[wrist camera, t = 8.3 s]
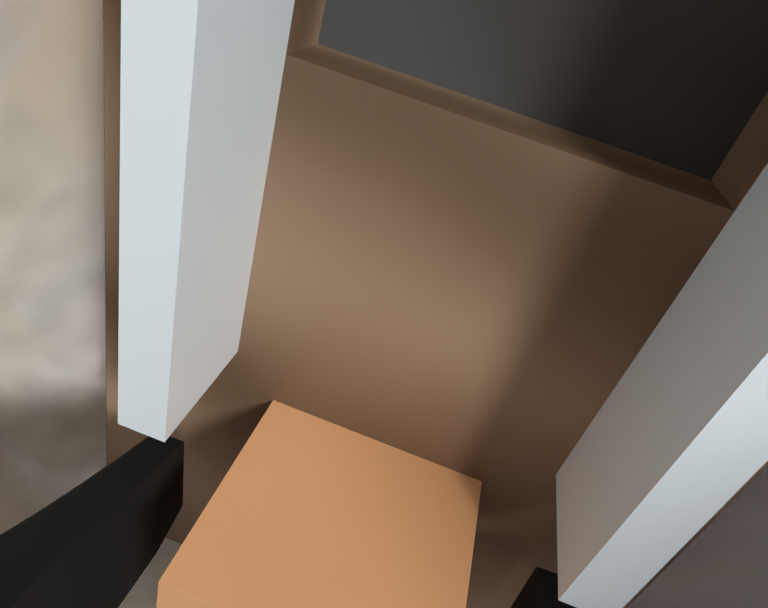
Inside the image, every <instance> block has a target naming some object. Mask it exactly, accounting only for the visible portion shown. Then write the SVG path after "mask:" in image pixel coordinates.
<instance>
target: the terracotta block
mask: <svg viewBox="0 0 768 608" xmlns="http://www.w3.org/2000/svg"><path fill="white" fill-rule="evenodd" d="M481 485H482V481H479V480H477V479H474V478H472V477H469V476H467V475H464V474H461V473H459V472H456V471H454V470H451V469H449V468H446V467H443V466H441V465H438V464H436V463H433V462H431V461H428V460H426V459H423V458H420V457H418V456H415V455H413V454H410V453H408V452H405V451H403V450H400V449H397V448H395V447H392V446H390V445H387V444H385V443H382V442H379V441H377V440H374V439H372V438H369V437H367V436H364V435H362V434H359V433H356V432H354V431H351V430H349V429H346V428H344V427H341V426H339V425H336V424H333V423H331V422H328V421H326V420H323V419H321V418H318V417H315V416H313V415H310V414H308V413H305V412H303V411H300V410H298V409H295V408H292V407H290V406H287V405H285V404H282V403H280V402H277V401H275V400H273V401H272V403H271V404H270V406H269V407H268V409H267V411H266V412H265V414H264V415H263V417H262V419H261V420H260V422H259V423H258V425H257V426H256V428H255V430H254V431H253V433H252V434H251V436H250V437H249V439H248V441H247V442H246V444H245V445H244V447H243V449H242V450H241V452H240V453H239V455H238V456H237V458H236V460H235V461H234V463H233V464H232V466H231V468H230V469H229V471H228V472H227V474H226V475H225V477H224V479H223V480H222V482H221V483H220V485H219V487H218V488H217V490H216V491H215V493H214V494H213V496H212V498H211V499H210V501H209V502H208V504H207V506H206V507H205V509H204V510H203V512H202V513H201V515H200V517H199V518H198V520H197V521H196V523H195V525H194V526H193V528H192V529H191V531H190V532H189V534H188V536H187V537H186V539H185V540H184V542H183V544H182V545H181V547H180V548H179V550H178V551H177V553H176V555H175V556H174V558H173V559H172V561H171V563H170V564H169V566H168V567H167V569H166V570H165V572H164V574H163V575H162V577H161V578H160V580H159V582H158V593H157V605H156V608H466V603H467V595H468V587H469V579H470V572H471V564H472V556H473V548H474V540H475V532H476V524H477V516H478V508H479V500H480V492H481Z"/></svg>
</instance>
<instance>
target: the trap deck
mask: <svg viewBox="0 0 768 608" xmlns="http://www.w3.org/2000/svg"><path fill="white" fill-rule="evenodd" d="M103 21H104V149H105V277H106V405H107V465H109V464H110V463H112V462H113V461H114V460H116V459H117V458H119V457H120V456H121V455H123V454H124V453H126V452H127V451H128V450H130V449H131V448H133V447H134V446H135V445H137V444H138V443H139V442H141V441H142V440H144V439H145V438H146V437H148V436H147V435H145V434H142V433H140V432H137V431H135V430H132V429H130V428H127V427H125V426H122V425H120V424H118V325H119V199H120V73H121V0H103ZM767 163H768V0H295V2H294V8H293V14H292V20H291V27H290V33H289V39H288V45H287V51H286V57H285V64H284V70H283V76H282V82H281V88H280V94H279V101H278V107H277V113H276V119H275V125H274V131H273V138H272V144H271V150H270V156H269V162H268V168H267V175H266V181H265V187H264V193H263V199H262V205H261V212H260V218H259V224H258V230H257V236H256V242H255V249H254V255H253V261H252V267H251V273H250V279H249V286H248V292H247V298H246V304H245V310H244V316H243V323H242V329H241V335H240V341H239V347H238V352H237V353H236V354H235V355H234V357H233V358H232V359H231V360H230V362H229V363H228V364H227V365H226V367H225V368H224V369H223V370H222V372H221V373H220V374H219V375H218V377H217V378H216V379H215V380H214V382H213V383H212V384H211V385H210V387H209V388H208V389H207V390H206V392H205V393H204V394H203V395H202V396H201V398H200V399H199V400H198V401H197V403H196V404H195V405H194V406H193V408H192V409H191V410H190V411H189V413H188V414H187V415H186V416H185V418H184V419H183V420H182V421H181V423H180V424H179V425H178V426H177V428H176V429H175V430H174V431H173V433H172V434H171V435H170V437H173V438H176V439H179V440H182V441H184V473H183V506H182V508H181V510H180V511H179V513H178V515H177V517H176V519H175V521H174V522H173V524H172V526H171V528H170V530H169V531H168V533H167V535H166V538H169V539H171V540H174V541H176V542H179V543H181V544H183V542H184V540H185V539H186V537H187V536H188V534H189V532H190V531H191V529H192V528H193V526H194V525H195V523H196V521H197V520H198V518H199V517H200V515H201V513H202V512H203V510H204V509H205V507H206V506H207V504H208V502H209V501H210V499H211V498H212V496H213V494H214V493H215V491H216V490H217V488H218V487H219V485H220V483H221V482H222V480H223V479H224V477H225V475H226V474H227V472H228V471H229V469H230V468H231V466H232V464H233V463H234V461H235V460H236V458H237V456H238V455H239V453H240V452H241V450H242V449H243V447H244V445H245V444H246V442H247V441H248V439H249V437H250V436H251V434H252V433H253V431H254V430H255V428H256V426H257V425H258V423H259V422H260V420H261V419H262V417H263V415H264V414H265V412H266V411H267V409H268V407H269V406H270V404H271V403H272V401H273V400H275V401H277V402H280V403H282V404H285V405H287V406H290V407H292V408H295V409H298V410H300V411H303V412H305V413H308V414H310V415H313V416H315V417H318V418H321V419H323V420H326V421H328V422H331V423H333V424H336V425H339V426H341V427H344V428H346V429H349V430H351V431H354V432H356V433H359V434H362V435H364V436H367V437H369V438H372V439H374V440H377V441H379V442H382V443H385V444H387V445H390V446H392V447H395V448H397V449H400V450H403V451H405V452H408V453H410V454H413V455H415V456H418V457H420V458H423V459H426V460H428V461H431V462H433V463H436V464H438V465H441V466H443V467H446V468H449V469H451V470H454V471H456V472H459V473H461V474H464V475H467V476H469V477H472V478H474V479H477V480H479V481H482V485H481V492H480V500H479V508H478V516H477V524H476V532H475V540H474V548H473V556H472V564H471V572H470V579H469V587H468V595H467V603H466V608H511V606H512V604H513V603H514V601H515V600H516V598H517V596H518V595H519V593H520V592H521V590H522V588H523V587H524V585H525V584H526V582H527V581H528V579H529V577H530V576H531V574H532V573H533V571H534V569H535V568H536V566H537V567H540V568H543V569H546V570H548V571H551V572H554V573H557V574H558V560H557V504H556V473H557V472H558V471H559V469H560V468H561V466H562V465H563V463H564V462H565V460H566V459H567V457H568V456H569V454H570V453H571V451H572V450H573V448H574V447H575V446H576V444H577V443H578V441H579V440H580V438H581V437H582V435H583V434H584V432H585V431H586V429H587V428H588V426H589V425H590V423H591V422H592V420H593V419H594V418H595V416H596V415H597V413H598V412H599V410H600V409H601V407H602V406H603V404H604V403H605V401H606V400H607V398H608V397H609V395H610V394H611V393H612V391H613V390H614V388H615V387H616V385H617V384H618V382H619V381H620V379H621V378H622V376H623V375H624V373H625V372H626V370H627V369H628V368H629V366H630V365H631V363H632V362H633V360H634V359H635V357H636V356H637V354H638V353H639V351H640V350H641V348H642V347H643V345H644V344H645V343H646V341H647V340H648V338H649V337H650V335H651V334H652V332H653V331H654V329H655V328H656V326H657V325H658V323H659V322H660V320H661V319H662V318H663V316H664V315H665V313H666V312H667V310H668V309H669V307H670V306H671V304H672V303H673V301H674V300H675V298H676V297H677V295H678V294H679V293H680V291H681V290H682V288H683V287H684V285H685V284H686V282H687V281H688V279H689V278H690V276H691V275H692V273H693V272H694V270H695V269H696V268H697V266H698V265H699V263H700V262H701V260H702V259H703V257H704V256H705V254H706V253H707V251H708V250H709V248H710V247H711V245H712V244H713V243H714V241H715V240H716V238H717V237H718V235H719V234H720V232H721V231H722V229H723V228H724V226H725V225H726V223H727V222H728V220H729V219H730V218H731V216H732V215H733V213H734V212H735V210H736V209H737V207H738V206H739V204H740V203H741V201H742V200H743V198H744V197H745V195H746V194H747V193H748V191H749V190H750V188H751V187H752V185H753V184H754V182H755V181H756V179H757V178H758V176H759V175H760V173H761V172H762V170H763V169H764V168H765V166H766V165H767ZM767 465H768V461H767V462H766V463H765V464H764V465H763V466H762V467H761V468H760V469H759V470H758V471H757V472H756V473H755V474H754V475H753V476H752V477H751V478H750V479H749V480H748V481H747V482H746V483H745V484H744V485H743V486H742V487H741V488H740V489H739V490H738V491H737V492H736V493H735V494H734V495H733V496H732V497H731V498H730V499H729V500H728V501H727V502H726V503H725V504H724V505H723V507H722V508H721V509H720V510H719V511H718V512H717V513H716V514H715V515H714V516H713V517H712V518H711V519H710V520H709V521H708V522H707V523H706V524H705V525H704V526H703V527H702V528H701V529H700V530H699V531H698V532H697V533H696V534H695V535H694V536H693V537H692V538H691V539H690V540H689V541H688V542H687V543H686V544H685V545H684V546H683V547H682V548H681V549H680V550H679V551H678V552H677V553H676V554H675V555H674V556H673V557H672V558H671V559H670V560H669V561H668V562H667V563H666V564H665V565H664V566H663V568H662V569H661V570H660V571H659V572H658V573H657V574H656V575H655V576H654V577H653V578H652V579H651V580H650V581H649V582H648V583H647V584H646V585H645V586H644V587H643V588H642V589H641V590H640V591H639V592H638V593H637V594H636V595H635V596H634V597H633V598H632V599H631V600H630V601H629V602H628V603H627V604H626V605H625V606H624V607H623V608H627V607H628V606H629V605H630V604H631V603H632V602H633V601H634V600H635V599H636V598H637V597H638V596H639V595H640V594H641V593H642V592H643V591H644V590H645V589H646V588H647V587H648V586H649V585H650V584H651V583H652V582H653V580H654V579H655V578H656V577H657V576H658V575H659V574H660V573H661V572H662V571H663V570H664V569H665V568H666V567H667V566H668V565H669V564H670V563H671V562H672V561H673V560H674V559H675V558H676V557H677V556H678V555H679V554H680V553H681V552H682V551H683V550H684V549H685V548H686V547H687V546H688V545H689V544H690V543H691V542H692V541H693V540H694V539H695V538H696V537H697V536H698V535H699V534H700V533H701V532H702V531H703V530H704V529H705V528H706V527H707V526H708V525H709V524H710V523H711V522H712V521H713V520H714V519H715V518H716V517H717V516H718V515H719V514H720V513H721V512H722V511H723V510H724V509H725V508H726V507H727V506H728V505H729V504H730V503H731V502H732V501H733V500H734V499H735V498H736V497H737V496H738V495H739V494H740V493H741V492H742V491H743V490H744V489H745V488H746V487H747V486H748V485H749V484H750V483H751V482H752V481H753V480H754V479H755V478H756V477H757V476H758V474H759V473H760V472H761V471H762V470H763V469H764V468H765V467H766V466H767Z"/></svg>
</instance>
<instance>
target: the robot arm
mask: <svg viewBox="0 0 768 608" xmlns="http://www.w3.org/2000/svg"><path fill="white" fill-rule="evenodd" d="M183 473H184V441H182V440H179V439H176V438H173V437H170V436H169V438H168V439H167V440H166V441H165V442H162V441H160V440H157V439H155V438H152V437H150V436H148V437H146V438H145V439H144V440H142V441H141V442H139V443H138V444H137V445H135V446H134V447H133V448H131V449H130V450H128V451H127V452H126V453H124V454H123V455H121V456H120V457H119V458H117V459H116V460H114V461H113V462H112V463H110V464H109V465H107V466H106V467H105V468H103V469H102V470H100V471H99V472H97V473H96V474H94V475H93V476H92V477H90V478H89V479H87V480H86V481H84V482H83V483H81V484H80V485H78V486H77V487H75V488H74V489H72V490H71V491H69V492H68V493H66V494H65V495H63V496H62V497H60V498H59V499H57V500H56V501H54V502H53V503H51V504H50V505H48V506H47V507H45V508H43V509H42V510H40V511H39V512H37V513H36V514H34V515H32V516H31V517H29V518H27V519H26V520H24V521H22V522H21V523H19V524H18V525H16V526H14V527H13V528H11V529H9V530H8V531H6V532H4V533H3V534H1V535H0V608H118V607H119V605H120V604H121V602H122V601H123V600H124V598H125V597H126V595H127V594H128V593H129V591H130V590H131V588H132V587H133V585H134V584H135V583H136V581H137V580H138V578H139V577H140V576H141V574H142V573H143V571H144V570H145V568H146V567H147V566H148V564H149V563H150V561H151V560H152V558H153V557H154V556H155V554H156V552H157V551H158V549H159V547H160V545H161V544H162V542H163V540H164V538H165V537H166V535H167V533H168V531H169V530H170V528H171V526H172V524H173V522H174V521H175V519H176V517H177V515H178V513H179V511H180V510H181V508H182V506H183ZM511 608H577V607H574V606H572V605H569V604H567V603H564V602H562V601H559V600H558V574H557V573H554V572H551V571H548V570H546V569H543V568H540V567H537V566H536V568H535V569H534V571H533V573H532V574H531V576H530V577H529V579H528V581H527V582H526V584H525V585H524V587H523V588H522V590H521V592H520V593H519V595H518V596H517V598H516V600H515V601H514V603H513V604H512V606H511Z"/></svg>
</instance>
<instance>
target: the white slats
mask: <svg viewBox="0 0 768 608" xmlns="http://www.w3.org/2000/svg"><path fill="white" fill-rule="evenodd" d="M294 2H295V0H121V73H120V199H119V325H118V424H120V425H122V426H125V427H127V428H130V429H132V430H135V431H137V432H140V433H142V434H145V435H147V436H150V437H152V438H155V439H157V440H160V441H162V442H165V441H166V440H167V439H168V438H169V436H170V435H171V434H172V433H173V431H174V430H175V429H176V428H177V426H178V425H179V424H180V423H181V421H182V420H183V419H184V418H185V416H186V415H187V414H188V413H189V411H190V410H191V409H192V408H193V406H194V405H195V404H196V403H197V401H198V400H199V399H200V398H201V396H202V395H203V394H204V393H205V392H206V390H207V389H208V388H209V387H210V385H211V384H212V383H213V382H214V380H215V379H216V378H217V377H218V375H219V374H220V373H221V372H222V370H223V369H224V368H225V367H226V365H227V364H228V363H229V362H230V360H231V359H232V358H233V357H234V355H235V354H236V353H237V352H238V347H239V341H240V335H241V329H242V323H243V316H244V310H245V304H246V298H247V292H248V286H249V279H250V273H251V267H252V261H253V255H254V249H255V242H256V236H257V230H258V224H259V218H260V212H261V205H262V199H263V193H264V187H265V181H266V175H267V168H268V162H269V156H270V150H271V144H272V138H273V131H274V125H275V119H276V113H277V107H278V101H279V94H280V88H281V82H282V76H283V70H284V64H285V57H286V51H287V45H288V39H289V33H290V27H291V20H292V14H293V8H294ZM767 461H768V163H767V165H766V166H765V168H764V169H763V170H762V172H761V173H760V175H759V176H758V178H757V179H756V181H755V182H754V184H753V185H752V187H751V188H750V190H749V191H748V193H747V194H746V195H745V197H744V198H743V200H742V201H741V203H740V204H739V206H738V207H737V209H736V210H735V212H734V213H733V215H732V216H731V218H730V219H729V220H728V222H727V223H726V225H725V226H724V228H723V229H722V231H721V232H720V234H719V235H718V237H717V238H716V240H715V241H714V243H713V244H712V245H711V247H710V248H709V250H708V251H707V253H706V254H705V256H704V257H703V259H702V260H701V262H700V263H699V265H698V266H697V268H696V269H695V270H694V272H693V273H692V275H691V276H690V278H689V279H688V281H687V282H686V284H685V285H684V287H683V288H682V290H681V291H680V293H679V294H678V295H677V297H676V298H675V300H674V301H673V303H672V304H671V306H670V307H669V309H668V310H667V312H666V313H665V315H664V316H663V318H662V319H661V320H660V322H659V323H658V325H657V326H656V328H655V329H654V331H653V332H652V334H651V335H650V337H649V338H648V340H647V341H646V343H645V344H644V345H643V347H642V348H641V350H640V351H639V353H638V354H637V356H636V357H635V359H634V360H633V362H632V363H631V365H630V366H629V368H628V369H627V370H626V372H625V373H624V375H623V376H622V378H621V379H620V381H619V382H618V384H617V385H616V387H615V388H614V390H613V391H612V393H611V394H610V395H609V397H608V398H607V400H606V401H605V403H604V404H603V406H602V407H601V409H600V410H599V412H598V413H597V415H596V416H595V418H594V419H593V420H592V422H591V423H590V425H589V426H588V428H587V429H586V431H585V432H584V434H583V435H582V437H581V438H580V440H579V441H578V443H577V444H576V446H575V447H574V448H573V450H572V451H571V453H570V454H569V456H568V457H567V459H566V460H565V462H564V463H563V465H562V466H561V468H560V469H559V471H558V472H557V473H556V504H557V560H558V600H559V601H562V602H564V603H567V604H569V605H572V606H574V607H577V608H623V607H624V606H625V605H626V604H627V603H628V602H629V601H630V600H631V599H632V598H633V597H634V596H635V595H636V594H637V593H638V592H639V591H640V590H641V589H642V588H643V587H644V586H645V585H646V584H647V583H648V582H649V581H650V580H651V579H652V578H653V577H654V576H655V575H656V574H657V573H658V572H659V571H660V570H661V569H662V568H663V566H664V565H665V564H666V563H667V562H668V561H669V560H670V559H671V558H672V557H673V556H674V555H675V554H676V553H677V552H678V551H679V550H680V549H681V548H682V547H683V546H684V545H685V544H686V543H687V542H688V541H689V540H690V539H691V538H692V537H693V536H694V535H695V534H696V533H697V532H698V531H699V530H700V529H701V528H702V527H703V526H704V525H705V524H706V523H707V522H708V521H709V520H710V519H711V518H712V517H713V516H714V515H715V514H716V513H717V512H718V511H719V510H720V509H721V508H722V507H723V505H724V504H725V503H726V502H727V501H728V500H729V499H730V498H731V497H732V496H733V495H734V494H735V493H736V492H737V491H738V490H739V489H740V488H741V487H742V486H743V485H744V484H745V483H746V482H747V481H748V480H749V479H750V478H751V477H752V476H753V475H754V474H755V473H756V472H757V471H758V470H759V469H760V468H761V467H762V466H763V465H764V464H765V463H766V462H767Z"/></svg>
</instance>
